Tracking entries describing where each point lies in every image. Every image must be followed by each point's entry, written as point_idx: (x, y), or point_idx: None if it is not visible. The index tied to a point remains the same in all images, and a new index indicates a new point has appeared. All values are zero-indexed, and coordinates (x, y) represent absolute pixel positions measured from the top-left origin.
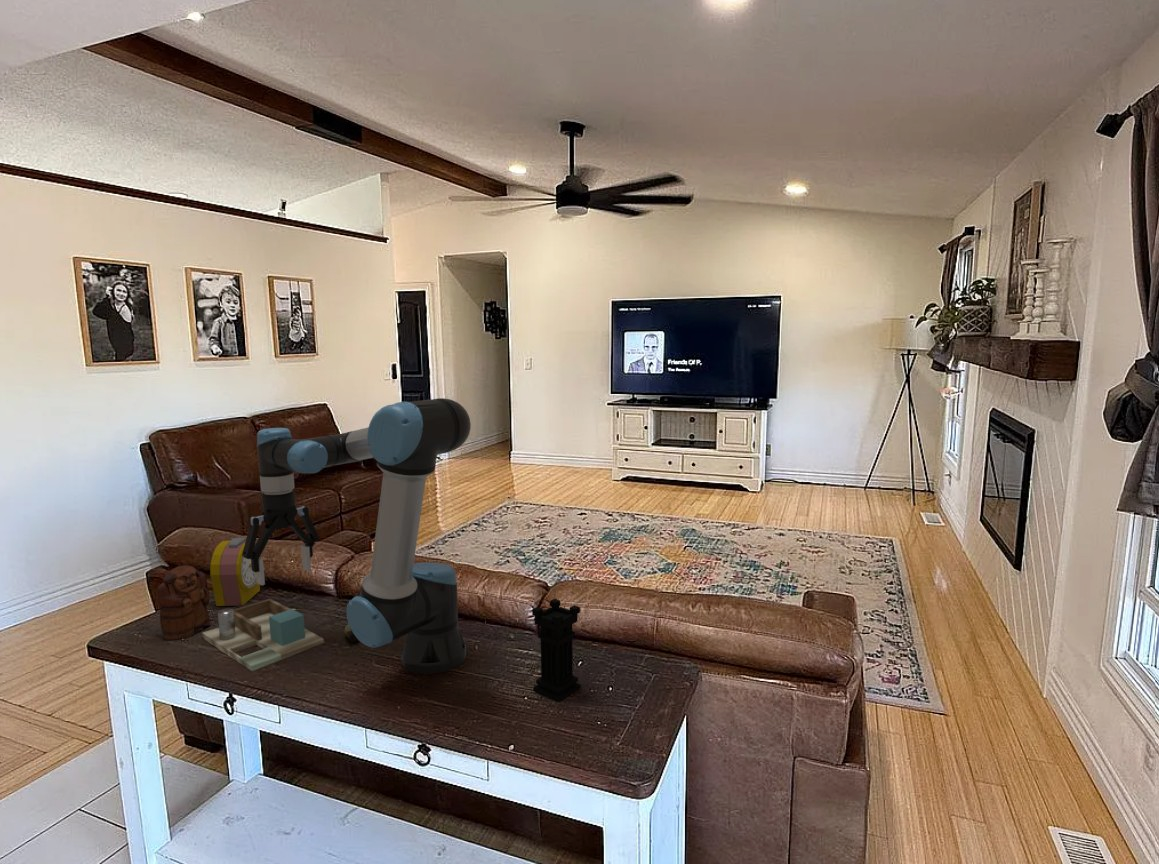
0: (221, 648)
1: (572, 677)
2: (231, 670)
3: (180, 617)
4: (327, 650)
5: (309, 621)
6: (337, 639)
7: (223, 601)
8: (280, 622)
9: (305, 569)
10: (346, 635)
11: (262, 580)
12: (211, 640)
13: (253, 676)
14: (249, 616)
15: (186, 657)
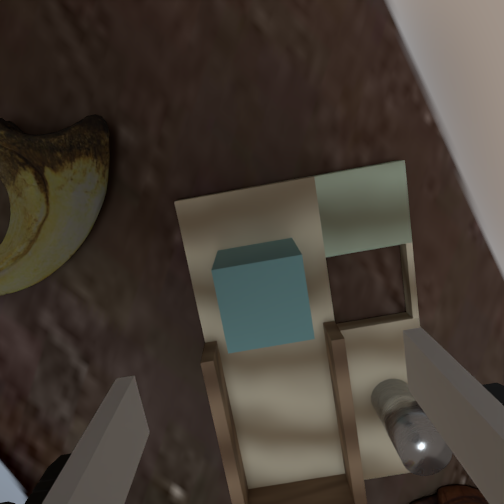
0: None
1: None
2: (434, 213)
3: None
4: (182, 152)
5: (164, 384)
6: (133, 208)
7: None
8: (300, 260)
9: (139, 409)
10: (109, 155)
11: (427, 342)
12: None
13: (402, 132)
14: (306, 485)
15: (492, 369)
